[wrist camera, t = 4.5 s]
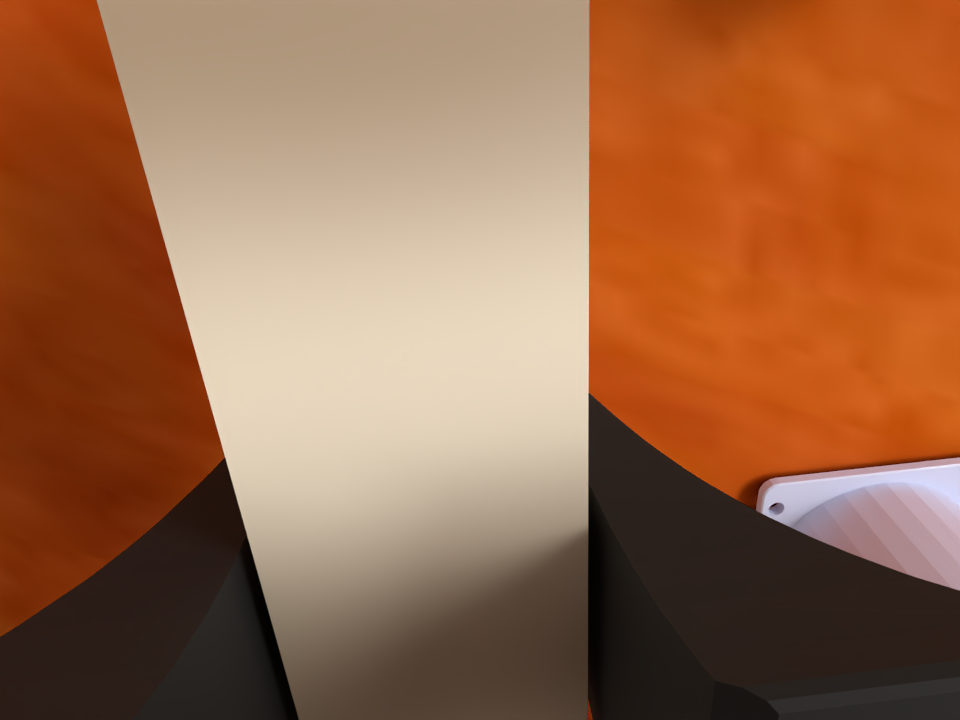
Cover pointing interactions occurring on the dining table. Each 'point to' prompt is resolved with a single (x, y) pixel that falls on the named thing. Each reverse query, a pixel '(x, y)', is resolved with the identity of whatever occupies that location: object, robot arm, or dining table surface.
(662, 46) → the dining table surface
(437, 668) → the birch rail
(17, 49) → the dining table surface
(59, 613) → the robot arm
